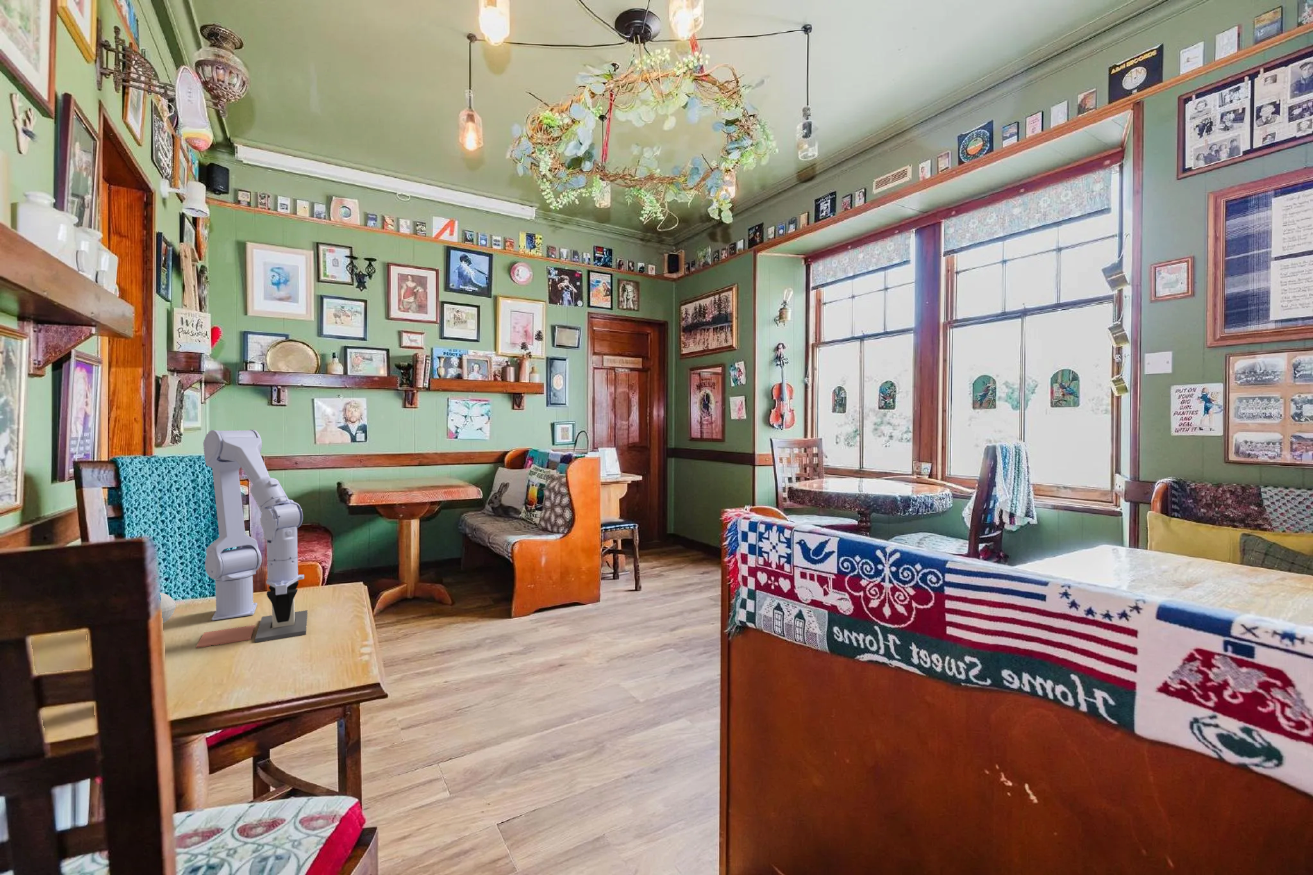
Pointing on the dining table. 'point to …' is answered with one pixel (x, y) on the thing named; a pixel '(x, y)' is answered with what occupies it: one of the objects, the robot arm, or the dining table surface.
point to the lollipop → (167, 606)
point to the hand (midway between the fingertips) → (283, 618)
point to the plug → (287, 623)
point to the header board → (281, 628)
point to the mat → (226, 636)
